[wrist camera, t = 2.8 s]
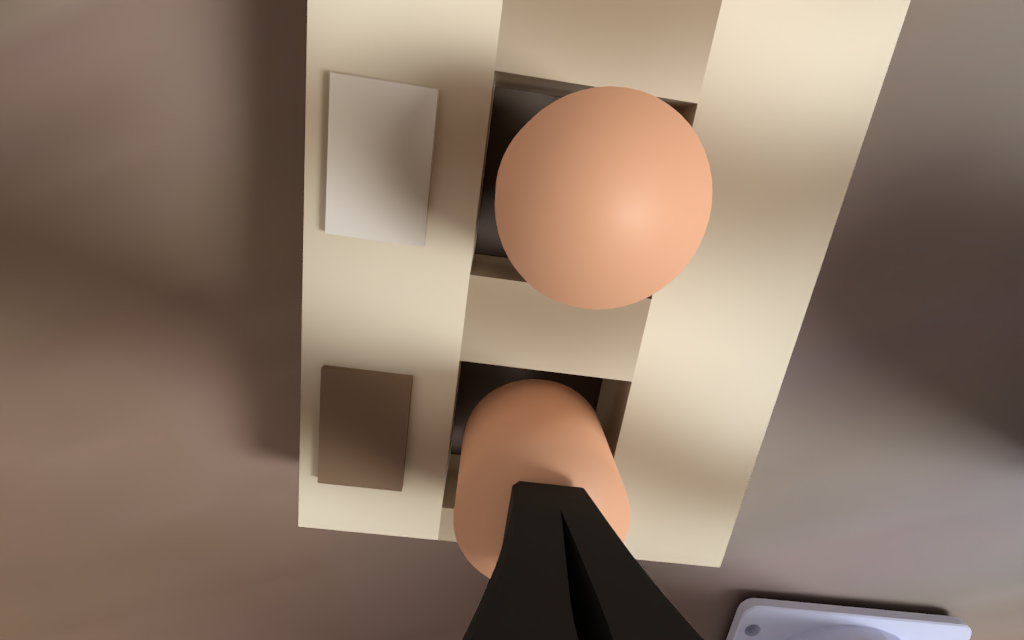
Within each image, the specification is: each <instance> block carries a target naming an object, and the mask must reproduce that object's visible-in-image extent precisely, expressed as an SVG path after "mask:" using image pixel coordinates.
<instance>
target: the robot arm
mask: <svg viewBox="0 0 1024 640" xmlns="http://www.w3.org/2000/svg"><path fill="white" fill-rule="evenodd" d="M970 637H971V629H970V628H969V627H968V626H967V625H966V624H965V623H964V622H963V621H962V620H961V619H960V618H958V617H955V616H944V615H933V614H923V613H912V612H901V611H890V610H880V609H869V608H858V607H848V606H837V605H826V604H816V603H805V602H794V601H784V600H773V599H762V598H749V599H746V600H744V601H743V602H742V603H741V604H740V605H739V607H738V608H737V611H736V614H735V617H734V619H733V622H732V625H731V628H730V630H729V633H728V636H727V639H726V640H969V639H970ZM462 640H703V639H702V638H701V637H700V636H699V634H698V633H697V632H696V631H695V630H694V629H693V628H692V627H691V626H690V625H689V623H688V622H687V621H686V620H685V619H684V618H683V617H682V615H681V614H680V613H679V612H678V611H677V610H676V608H675V607H674V606H673V605H672V604H671V603H670V602H669V600H668V599H667V598H666V597H665V596H664V595H663V593H662V592H661V591H660V590H659V589H658V587H657V586H656V585H655V584H654V582H653V581H652V580H651V579H650V577H649V576H648V575H647V573H646V572H645V571H644V570H643V568H642V567H641V566H640V564H639V563H638V562H637V561H636V559H635V558H634V557H633V555H632V554H631V553H630V551H629V550H628V549H627V547H626V546H625V545H624V543H623V542H622V541H621V539H620V538H619V537H618V535H617V534H616V532H615V531H614V530H613V528H612V527H611V525H610V524H609V523H608V521H607V520H606V518H605V517H604V516H603V514H602V513H601V511H600V510H599V509H598V507H597V506H596V504H595V503H594V501H593V500H592V499H591V497H590V496H589V495H588V493H587V492H586V490H585V489H584V488H581V487H572V486H562V485H553V484H543V483H534V482H525V481H519V482H517V483H515V484H514V485H512V491H511V496H510V502H509V508H508V514H507V520H506V526H505V532H504V538H503V544H502V548H501V551H500V555H499V558H498V560H497V563H496V566H495V568H494V571H493V573H492V576H491V578H490V580H489V583H488V585H487V588H486V590H485V592H484V595H483V597H482V600H481V602H480V604H479V606H478V609H477V611H476V613H475V615H474V617H473V619H472V621H471V623H470V625H469V627H468V629H467V631H466V633H465V635H464V637H463V639H462Z"/></svg>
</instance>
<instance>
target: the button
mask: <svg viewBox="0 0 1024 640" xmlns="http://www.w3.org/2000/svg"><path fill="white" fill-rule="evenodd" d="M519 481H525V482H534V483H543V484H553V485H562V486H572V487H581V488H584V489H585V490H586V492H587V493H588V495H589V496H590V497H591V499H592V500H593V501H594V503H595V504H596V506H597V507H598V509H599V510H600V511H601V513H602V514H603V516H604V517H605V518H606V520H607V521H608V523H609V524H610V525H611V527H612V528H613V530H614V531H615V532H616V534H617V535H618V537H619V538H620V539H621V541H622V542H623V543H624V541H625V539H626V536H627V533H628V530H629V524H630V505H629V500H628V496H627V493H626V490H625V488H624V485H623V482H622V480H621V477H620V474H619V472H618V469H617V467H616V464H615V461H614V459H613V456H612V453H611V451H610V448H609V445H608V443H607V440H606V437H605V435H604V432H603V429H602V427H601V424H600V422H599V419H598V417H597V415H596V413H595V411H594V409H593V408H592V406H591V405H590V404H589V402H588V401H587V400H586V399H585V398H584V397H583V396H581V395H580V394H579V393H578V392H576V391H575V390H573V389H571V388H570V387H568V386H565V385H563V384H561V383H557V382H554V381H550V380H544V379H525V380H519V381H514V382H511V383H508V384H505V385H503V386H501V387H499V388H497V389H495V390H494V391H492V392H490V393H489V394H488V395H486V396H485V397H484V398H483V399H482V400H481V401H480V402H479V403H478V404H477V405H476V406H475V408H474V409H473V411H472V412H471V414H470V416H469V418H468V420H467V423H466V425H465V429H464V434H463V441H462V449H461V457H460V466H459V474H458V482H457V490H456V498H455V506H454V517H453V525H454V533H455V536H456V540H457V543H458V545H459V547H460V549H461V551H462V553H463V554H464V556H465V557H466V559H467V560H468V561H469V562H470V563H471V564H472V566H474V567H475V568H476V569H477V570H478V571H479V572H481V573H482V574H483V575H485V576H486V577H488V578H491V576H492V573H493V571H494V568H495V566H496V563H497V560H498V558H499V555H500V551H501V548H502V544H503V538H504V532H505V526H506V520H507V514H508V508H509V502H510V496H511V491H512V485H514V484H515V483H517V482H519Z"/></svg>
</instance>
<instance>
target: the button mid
mask: <svg viewBox="0 0 1024 640" xmlns="http://www.w3.org/2000/svg"><path fill="white" fill-rule="evenodd" d="M712 193H713V190H712V176H711V171H710V166H709V162H708V159H707V156H706V153H705V150H704V148H703V146H702V144H701V142H700V140H699V138H698V136H697V134H696V133H695V131H694V130H693V128H692V127H691V125H690V124H689V123H688V122H687V121H686V120H685V119H684V118H683V116H682V115H681V114H680V113H679V112H677V111H676V110H675V109H674V108H672V107H671V106H670V105H669V104H667V103H665V102H664V101H662V100H660V99H659V98H657V97H655V96H653V95H650V94H648V93H645V92H643V91H639V90H635V89H631V88H627V87H616V86H605V87H594V88H589V89H584V90H580V91H577V92H574V93H571V94H569V95H566V96H564V97H562V98H560V99H558V100H556V101H554V102H552V103H551V104H550V105H548V106H547V107H545V108H544V109H542V110H541V111H540V112H539V113H537V114H536V115H535V116H534V117H533V118H532V119H531V120H530V121H529V122H528V123H527V124H526V125H525V126H524V127H523V128H522V129H521V130H520V131H519V132H518V133H517V135H516V136H515V137H514V138H513V140H512V141H511V143H510V144H509V146H508V147H507V149H506V151H505V153H504V155H503V157H502V160H501V163H500V166H499V169H498V174H497V179H496V192H495V218H496V224H497V229H498V233H499V236H500V239H501V242H502V245H503V248H504V250H505V252H506V254H507V256H508V258H509V260H510V261H511V263H512V264H513V266H514V267H515V269H516V270H517V271H518V272H519V274H520V275H521V276H522V277H523V278H524V279H525V280H526V281H527V282H528V283H529V284H530V285H531V286H532V287H534V288H535V289H536V290H538V291H539V292H541V293H542V294H544V295H545V296H547V297H549V298H551V299H553V300H555V301H557V302H559V303H562V304H565V305H568V306H572V307H577V308H582V309H593V310H601V309H613V308H618V307H623V306H627V305H630V304H633V303H636V302H638V301H641V300H643V299H645V298H647V297H649V296H651V295H653V294H654V293H656V292H658V291H659V290H661V289H662V288H663V287H665V286H666V285H667V284H668V283H670V282H671V281H672V280H673V279H674V278H675V277H676V276H677V275H678V274H679V273H680V272H681V271H682V270H683V269H684V268H685V266H686V265H687V264H688V263H689V261H690V260H691V259H692V257H693V255H694V254H695V252H696V250H697V249H698V247H699V245H700V243H701V241H702V238H703V236H704V234H705V231H706V228H707V225H708V222H709V217H710V212H711V207H712Z"/></svg>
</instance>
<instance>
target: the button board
mask: <svg viewBox="0 0 1024 640" xmlns="http://www.w3.org/2000/svg"><path fill="white" fill-rule="evenodd" d="M910 1H911V0H307V57H306V115H305V172H304V230H303V288H302V345H301V403H300V461H299V519H298V526H299V527H309V528H319V529H329V530H340V531H350V532H360V533H370V534H381V535H391V536H401V537H412V538H422V539H432V540H442V541H453V542H457V540H456V536H455V533H454V525H453V517H454V506H455V498H456V490H457V482H458V474H459V466H460V457H461V455H458V454H450V452H451V444H452V436H453V427H454V419H455V411H456V403H457V395H458V387H459V378H460V370H461V362H462V361H467V362H475V363H483V364H491V365H500V366H508V367H516V368H524V369H532V370H541V371H549V372H557V373H565V374H573V375H582V376H590V377H598V378H603V380H602V385H601V390H600V394H599V399H598V403H597V408H596V415H597V417H598V419H599V422H600V424H601V427H602V429H603V432H604V435H605V437H606V440H607V443H608V445H609V448H610V451H611V453H612V456H613V459H614V461H615V464H616V467H617V469H618V472H619V474H620V477H621V480H622V482H623V485H624V488H625V490H626V493H627V496H628V500H629V505H630V524H629V530H628V533H627V536H626V539H625V541H624V545H625V546H626V547H627V549H628V550H629V551H630V553H631V554H632V555H633V557H634V558H635V559H638V560H648V561H658V562H668V563H679V564H689V565H699V566H709V567H720V566H721V563H722V560H723V557H724V554H725V551H726V548H727V545H728V542H729V539H730V536H731V533H732V530H733V527H734V524H735V521H736V518H737V515H738V512H739V509H740V506H741V503H742V500H743V497H744V494H745V491H746V488H747V486H748V483H749V480H750V477H751V474H752V471H753V468H754V465H755V462H756V459H757V456H758V453H759V450H760V447H761V444H762V441H763V438H764V435H765V432H766V429H767V426H768V423H769V420H770V417H771V414H772V411H773V408H774V405H775V402H776V399H777V396H778V393H779V390H780V387H781V384H782V381H783V378H784V375H785V373H786V370H787V367H788V364H789V361H790V358H791V355H792V352H793V349H794V346H795V343H796V340H797V337H798V334H799V331H800V328H801V325H802V322H803V319H804V316H805V313H806V310H807V307H808V304H809V301H810V298H811V295H812V292H813V289H814V286H815V283H816V280H817V277H818V274H819V271H820V268H821V265H822V262H823V260H824V257H825V254H826V251H827V248H828V245H829V242H830V239H831V236H832V233H833V230H834V227H835V224H836V221H837V218H838V215H839V212H840V209H841V206H842V203H843V200H844V197H845V194H846V191H847V188H848V185H849V182H850V179H851V176H852V173H853V170H854V167H855V164H856V161H857V158H858V155H859V152H860V149H861V147H862V144H863V141H864V138H865V135H866V132H867V129H868V126H869V123H870V120H871V117H872V114H873V111H874V108H875V105H876V102H877V99H878V96H879V93H880V90H881V87H882V84H883V81H884V78H885V75H886V72H887V69H888V66H889V63H890V60H891V57H892V54H893V51H894V48H895V45H896V42H897V39H898V36H899V34H900V31H901V28H902V25H903V22H904V19H905V16H906V13H907V10H908V7H909V4H910ZM495 86H497V87H503V88H510V89H516V90H522V91H528V92H535V93H541V94H547V95H553V96H560V97H564V96H566V95H569V94H571V93H574V92H577V91H580V90H584V89H589V88H594V87H605V86H616V87H627V88H631V89H635V90H639V91H643V92H645V93H648V94H650V95H653V96H655V97H657V98H659V99H660V100H662V101H664V102H665V103H667V104H669V105H670V106H671V107H672V108H674V109H675V110H676V111H677V112H679V113H680V114H681V115H682V116H683V118H684V119H685V120H686V121H687V122H688V123H689V124H690V125H691V127H692V128H693V130H694V131H695V133H696V134H697V136H698V138H699V140H700V142H701V144H702V146H703V148H704V150H705V153H706V156H707V159H708V162H709V166H710V171H711V176H712V190H713V193H712V207H711V212H710V217H709V222H708V225H707V228H706V231H705V234H704V236H703V238H702V241H701V243H700V245H699V247H698V249H697V250H696V252H695V254H694V255H693V257H692V259H691V260H690V261H689V263H688V264H687V265H686V266H685V268H684V269H683V270H682V271H681V272H680V273H679V274H678V275H677V276H676V277H675V278H674V279H673V280H672V281H671V282H670V283H668V284H667V285H666V286H665V287H663V288H662V289H661V290H659V291H658V292H656V293H654V294H653V295H651V296H649V297H647V298H645V299H643V300H641V301H638V302H636V303H633V304H630V305H627V306H623V307H618V308H613V309H601V310H593V309H582V308H577V307H572V306H568V305H565V304H562V303H559V302H557V301H555V300H553V299H551V298H549V297H547V296H545V295H544V294H542V293H541V292H539V291H538V290H536V289H535V288H534V287H532V286H531V285H530V284H529V283H528V282H527V281H526V280H525V279H524V278H523V277H522V276H521V275H520V274H519V272H518V271H517V270H516V269H515V267H514V266H513V264H512V263H511V261H510V260H509V258H503V257H496V256H488V255H481V254H475V247H476V239H477V231H478V223H479V215H480V206H481V198H482V190H483V182H484V174H485V165H486V157H487V149H488V141H489V133H490V124H491V116H492V108H493V100H494V92H495Z"/></svg>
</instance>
